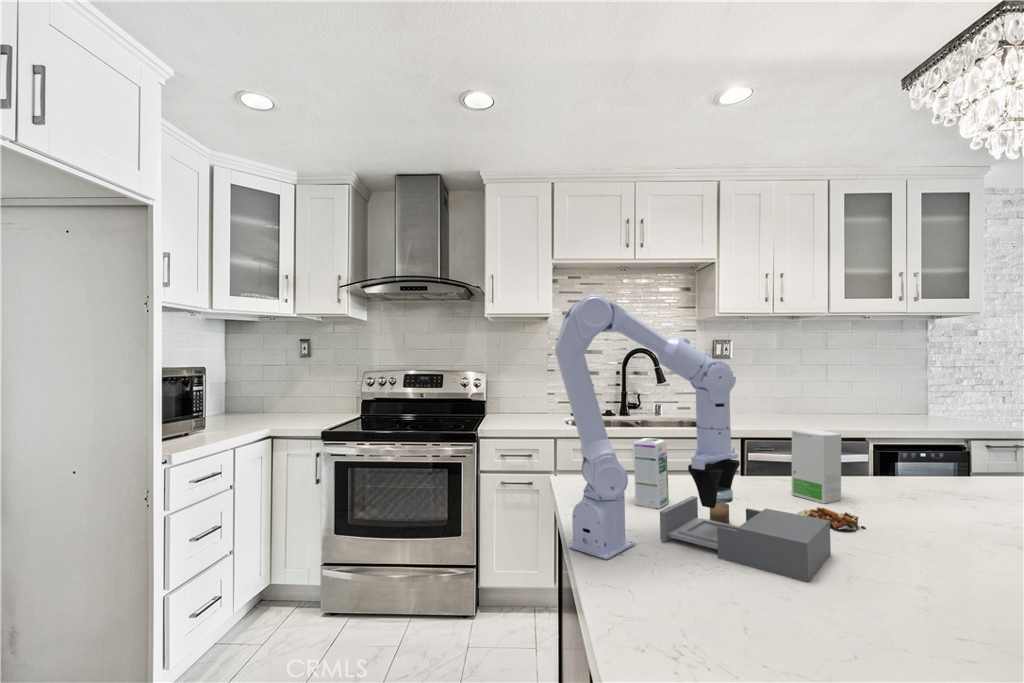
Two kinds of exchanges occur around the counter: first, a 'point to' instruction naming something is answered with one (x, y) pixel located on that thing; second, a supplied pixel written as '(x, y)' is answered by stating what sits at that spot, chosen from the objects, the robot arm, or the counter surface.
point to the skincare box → (816, 465)
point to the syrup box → (651, 472)
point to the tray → (689, 524)
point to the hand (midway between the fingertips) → (715, 503)
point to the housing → (777, 543)
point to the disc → (724, 495)
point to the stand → (720, 513)
